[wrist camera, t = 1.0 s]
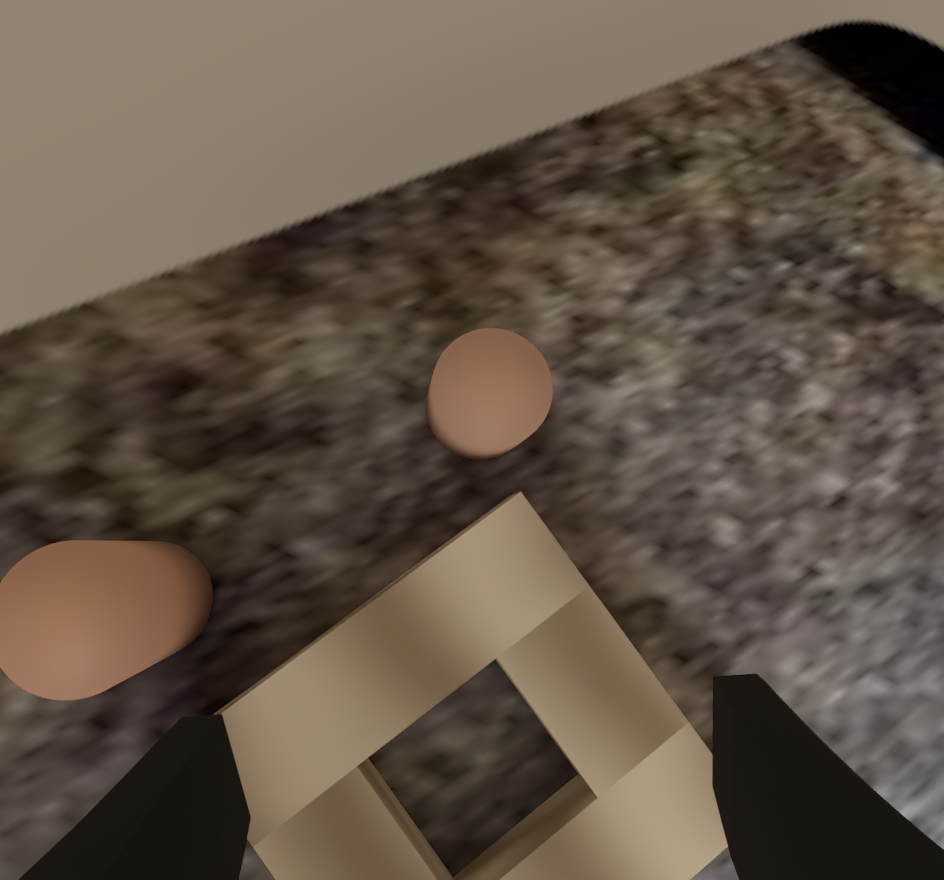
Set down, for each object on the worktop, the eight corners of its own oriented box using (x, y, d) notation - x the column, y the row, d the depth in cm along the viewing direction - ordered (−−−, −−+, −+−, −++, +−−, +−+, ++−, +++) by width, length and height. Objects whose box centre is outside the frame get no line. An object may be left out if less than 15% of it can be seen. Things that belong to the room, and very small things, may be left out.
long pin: (137, 681, 25) (46, 734, 18) (70, 587, 25) (-45, 603, 19) (235, 610, 26) (184, 634, 19) (170, 518, 26) (95, 509, 19)
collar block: (427, 1048, 25) (432, 1104, 22) (200, 723, 25) (180, 743, 23) (724, 793, 27) (759, 818, 24) (508, 496, 27) (520, 491, 25)
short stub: (467, 481, 27) (479, 472, 24) (404, 394, 27) (407, 372, 24) (552, 419, 28) (576, 402, 24) (490, 334, 28) (505, 304, 24)
